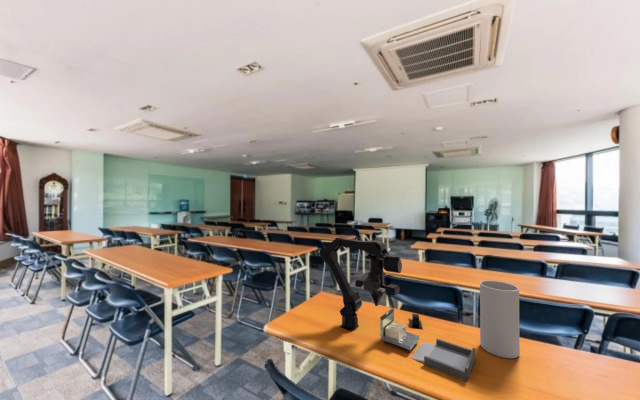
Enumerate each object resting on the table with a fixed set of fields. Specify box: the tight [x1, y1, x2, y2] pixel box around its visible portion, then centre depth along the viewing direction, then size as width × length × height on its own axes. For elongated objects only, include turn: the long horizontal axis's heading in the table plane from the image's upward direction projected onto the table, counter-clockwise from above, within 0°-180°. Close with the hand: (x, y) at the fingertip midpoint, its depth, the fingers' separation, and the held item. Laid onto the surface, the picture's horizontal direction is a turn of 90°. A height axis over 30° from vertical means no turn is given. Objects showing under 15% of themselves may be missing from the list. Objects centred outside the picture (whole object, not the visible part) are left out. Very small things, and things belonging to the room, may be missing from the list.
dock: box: [410, 338, 476, 382], centre depth 93 cm, size 19×16×5 cm
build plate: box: [408, 313, 424, 331], centre depth 120 cm, size 12×7×5 cm, turn 165°
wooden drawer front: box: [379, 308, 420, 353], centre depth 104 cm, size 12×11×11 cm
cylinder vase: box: [479, 280, 521, 359], centre depth 99 cm, size 12×12×25 cm
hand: (376, 305), depth 110 cm, fingers closed
